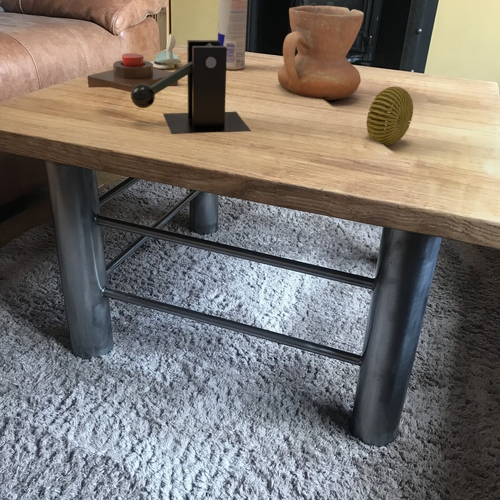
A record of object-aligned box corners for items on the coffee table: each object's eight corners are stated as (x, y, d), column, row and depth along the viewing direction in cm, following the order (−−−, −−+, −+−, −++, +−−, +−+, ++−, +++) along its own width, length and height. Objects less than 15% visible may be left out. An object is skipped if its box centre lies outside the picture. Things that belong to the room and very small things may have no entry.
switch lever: (140, 115, 75) (127, 95, 74) (138, 108, 78) (125, 88, 76) (223, 65, 75) (212, 43, 73) (218, 60, 77) (207, 39, 76)
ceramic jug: (318, 80, 110) (326, 1, 102) (378, 97, 101) (392, 12, 93) (250, 93, 99) (254, 6, 92) (311, 114, 90) (321, 19, 83)
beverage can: (248, 66, 117) (252, -13, 109) (238, 72, 112) (242, -10, 105) (223, 63, 119) (225, -15, 111) (212, 68, 114) (214, -13, 106)
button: (134, 69, 94) (133, 58, 94) (118, 66, 96) (117, 55, 95) (148, 65, 97) (147, 55, 96) (132, 62, 99) (131, 52, 98)
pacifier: (152, 72, 109) (183, 70, 111) (150, 38, 106) (181, 37, 108) (147, 63, 115) (176, 62, 117) (145, 31, 112) (175, 30, 114)
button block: (133, 99, 92) (131, 74, 90) (88, 88, 96) (86, 64, 94) (178, 85, 101) (177, 62, 99) (135, 76, 105) (134, 54, 103)
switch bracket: (171, 142, 75) (169, 50, 69) (163, 121, 83) (160, 37, 77) (250, 138, 78) (255, 50, 72) (235, 119, 85) (238, 37, 79)
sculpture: (388, 135, 83) (398, 79, 78) (412, 142, 80) (423, 85, 76) (356, 146, 77) (365, 88, 73) (381, 154, 75) (392, 95, 71)
